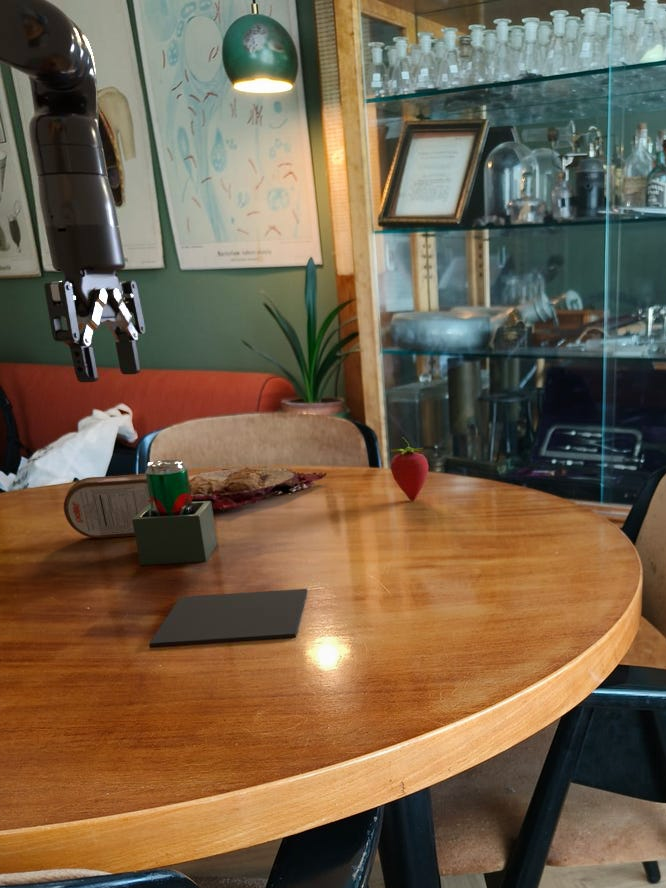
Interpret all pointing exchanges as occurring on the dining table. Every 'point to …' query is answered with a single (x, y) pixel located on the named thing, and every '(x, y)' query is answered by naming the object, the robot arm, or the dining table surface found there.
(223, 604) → the mat
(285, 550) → the dining table surface
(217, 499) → the plate with food
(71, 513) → the tin
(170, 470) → the soda can
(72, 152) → the robot arm
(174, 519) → the box
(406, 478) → the strawberry
